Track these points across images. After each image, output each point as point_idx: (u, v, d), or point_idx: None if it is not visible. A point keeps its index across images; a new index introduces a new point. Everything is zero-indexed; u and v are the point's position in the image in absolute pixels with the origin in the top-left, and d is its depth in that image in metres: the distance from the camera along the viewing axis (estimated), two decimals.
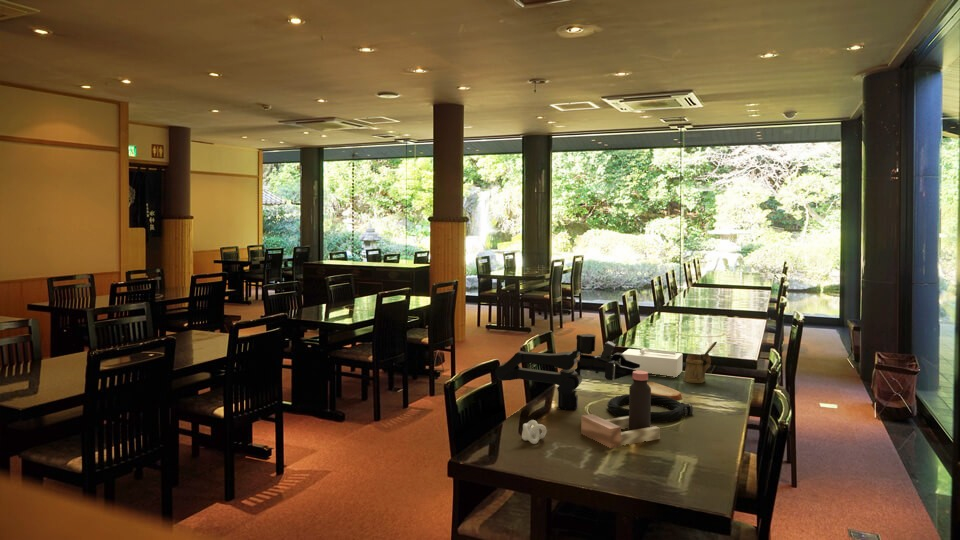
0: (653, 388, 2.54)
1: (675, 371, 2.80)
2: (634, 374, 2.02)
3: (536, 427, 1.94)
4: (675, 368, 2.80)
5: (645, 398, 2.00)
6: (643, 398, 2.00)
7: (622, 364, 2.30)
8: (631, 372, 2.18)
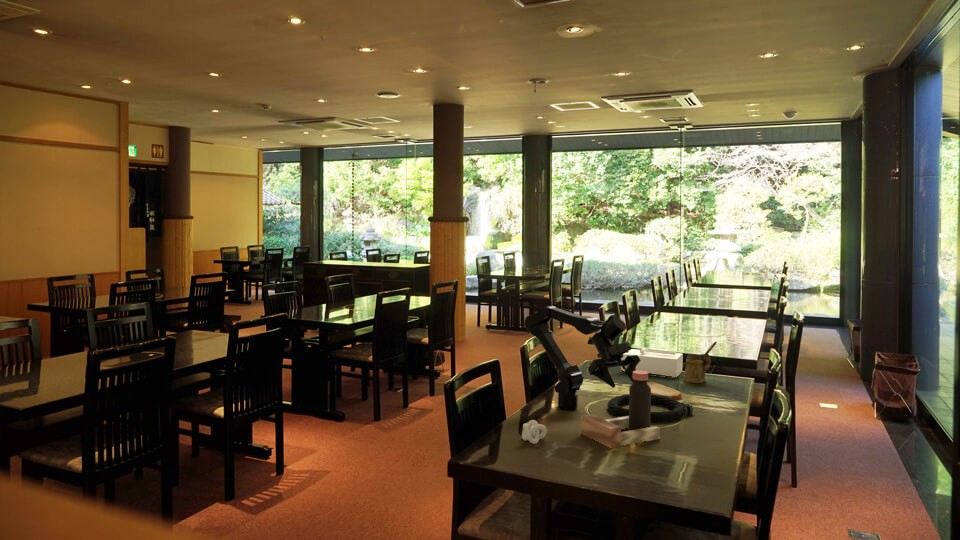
0: (653, 388, 2.54)
1: (675, 371, 2.80)
2: (634, 374, 2.02)
3: (536, 427, 1.94)
4: (675, 368, 2.80)
5: (645, 398, 2.00)
6: (643, 398, 2.00)
7: (628, 369, 2.16)
8: (610, 384, 2.09)
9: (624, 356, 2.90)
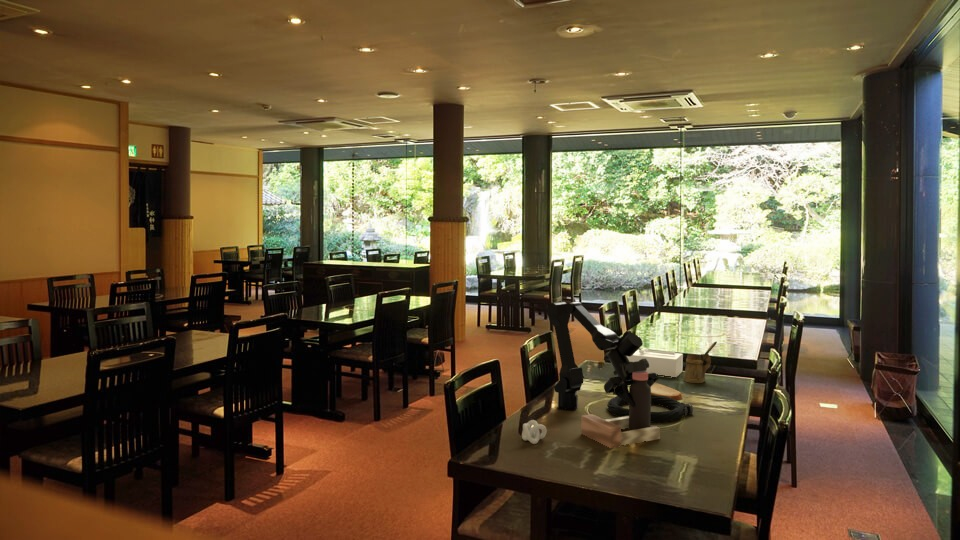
0: (653, 388, 2.54)
1: (674, 371, 2.80)
2: (634, 374, 2.02)
3: (536, 427, 1.94)
4: (674, 368, 2.80)
5: (645, 398, 2.00)
6: (643, 398, 2.00)
7: None
8: (629, 402, 2.01)
9: None
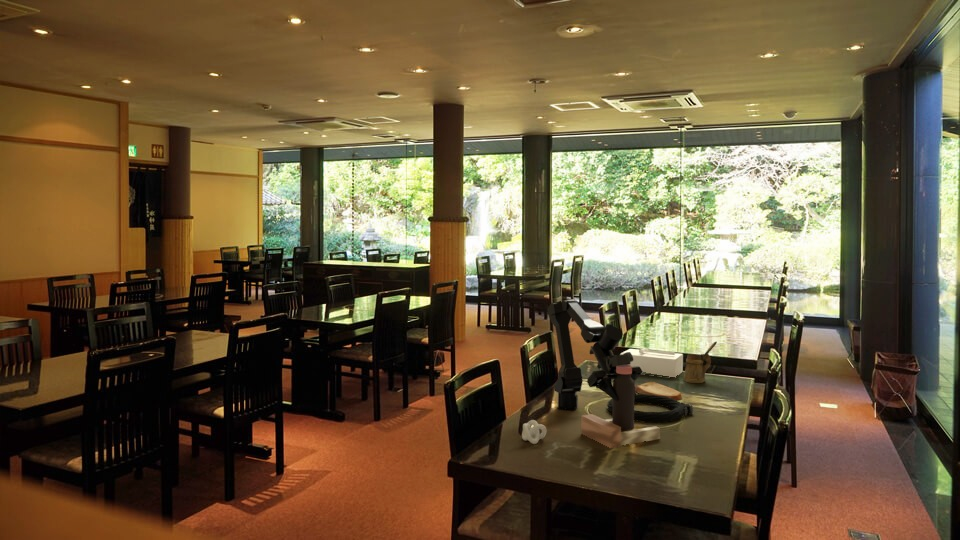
0: (653, 388, 2.54)
1: (673, 371, 2.80)
2: (618, 368, 1.99)
3: (536, 427, 1.94)
4: (673, 368, 2.79)
5: (629, 392, 1.97)
6: (626, 392, 1.97)
7: None
8: (613, 397, 1.99)
9: None
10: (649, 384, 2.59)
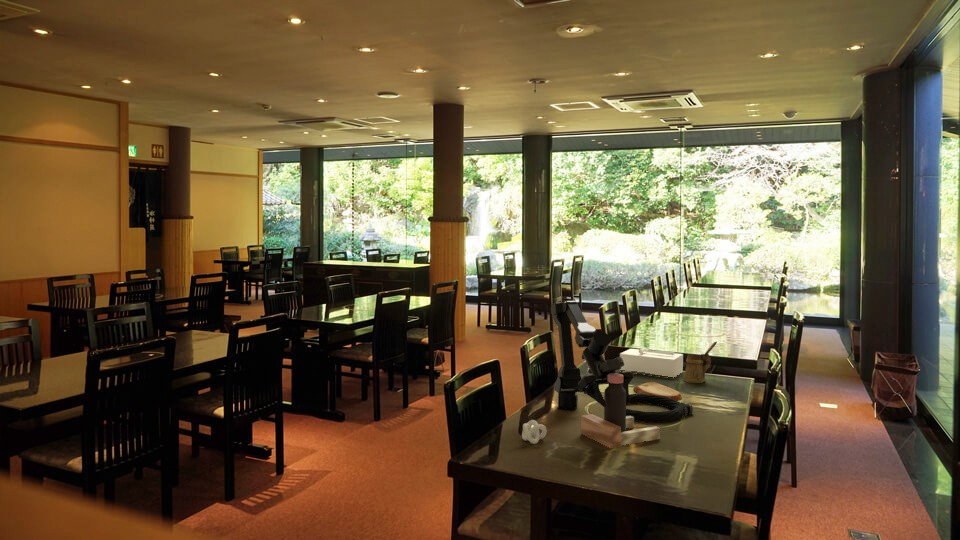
0: (653, 388, 2.54)
1: (672, 371, 2.79)
2: (609, 377, 1.98)
3: (536, 427, 1.94)
4: (672, 368, 2.79)
5: (621, 402, 1.96)
6: (618, 402, 1.96)
7: None
8: (600, 402, 1.96)
9: (623, 356, 2.91)
10: (649, 384, 2.59)
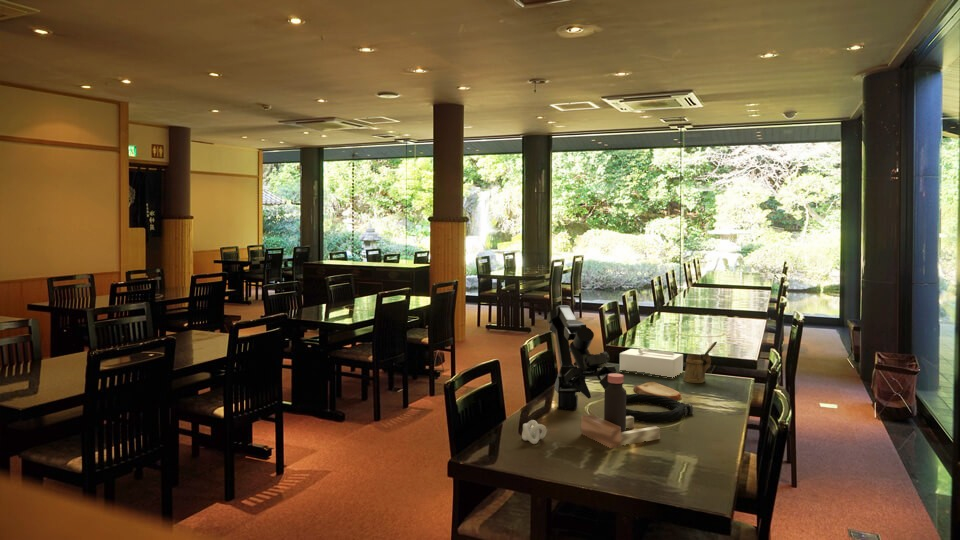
0: (653, 388, 2.54)
1: (671, 372, 2.79)
2: (609, 377, 1.98)
3: (536, 427, 1.94)
4: (671, 369, 2.79)
5: (621, 402, 1.96)
6: (618, 402, 1.96)
7: (604, 379, 2.12)
8: (586, 394, 2.04)
9: (622, 356, 2.92)
10: (649, 384, 2.59)
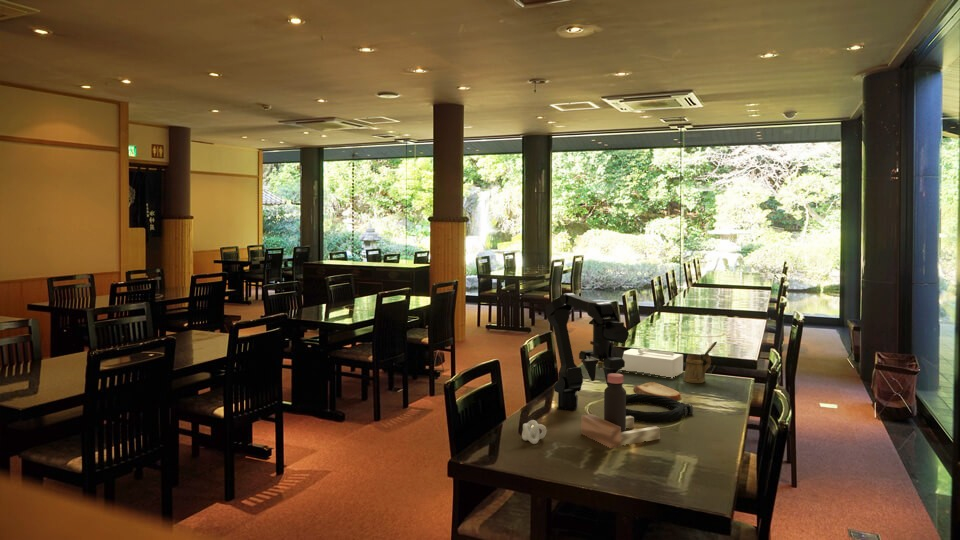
0: (653, 388, 2.54)
1: (671, 372, 2.79)
2: (609, 377, 1.98)
3: (536, 427, 1.94)
4: (671, 369, 2.79)
5: (621, 402, 1.96)
6: (618, 402, 1.96)
7: (591, 363, 2.20)
8: None
9: None
10: (649, 384, 2.59)
